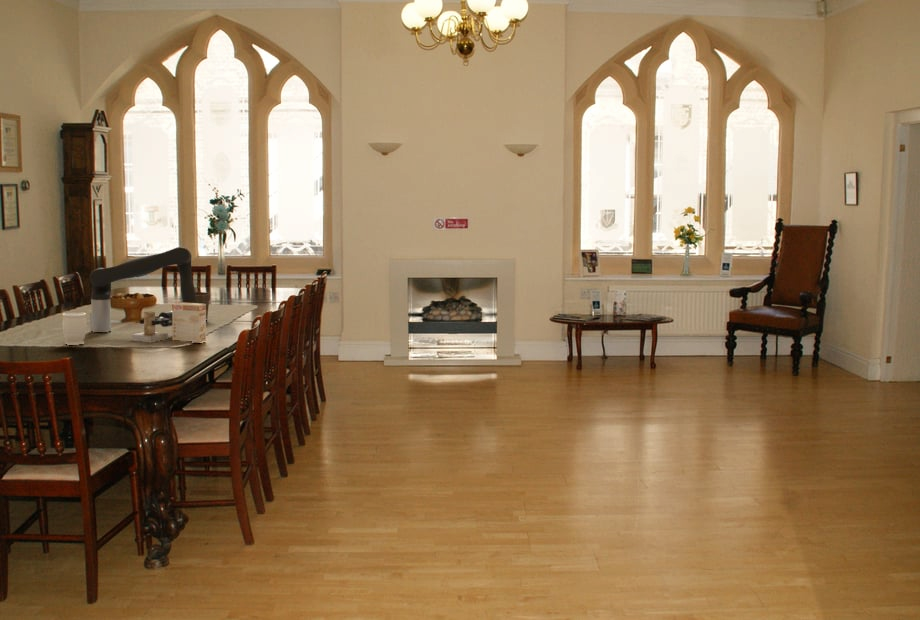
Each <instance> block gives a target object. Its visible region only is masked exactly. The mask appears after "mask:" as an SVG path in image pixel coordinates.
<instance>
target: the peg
mask: <svg viewBox="0 0 920 620" xmlns="http://www.w3.org/2000/svg"><path fill="white" fill-rule="evenodd" d="M155 316H156V312H155V311H154V310H153V311H152V310H148V311H144V312H143V318H144V324H143V326H144V328H143V330H144V331H143V332H144V334H146V335H153V334H155V332H156V325H152V321H154V320H155Z"/></svg>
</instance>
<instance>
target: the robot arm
mask: <svg viewBox="0 0 920 620" xmlns="http://www.w3.org/2000/svg"><path fill="white" fill-rule="evenodd" d="M173 265H176V266H177V270H178V273H179V284H180V285H179V286H180V293H181V299H182V300H181V301H182V302H184V303H198V301H197V299H196V294H195V292H196V290H195V284H194V279H193V274H192V272H193V271H192V253H191V251H190V250H189V249H188V248H186V247H185V246H178V247H175V248H172V249H169V250H167V251H163V252H160V253H155V254H151V255H145V256H140V257H137V258H134V259H130V260H127V261H125V262H123V263H120V264H117V265H115V266H110V267H97V268H96V269H94V270H92V271H91V272H90V274H89V277H88V278H89V281H90V283H91V294H90V303H91V305H90V306H91V311H90V312H91V313H89V325H90V326H89V327H90V328H89V329H90V330H89V331H90V332H91V331H93V332H92V333H94V332H107V333H109V332H108V331H112V328H111V327H112V323H111V320H112V319H111V317H112V315H111V309H112V308H111V292H112V283H113V282H116V281H120V280H126V279H132V278H136V277H137V278H139V277H140V276H141V277H142V276H146V275H149V274H152V273H154V272H156V271H159V270H160V269H163V268H166V267H169V266H173ZM139 324H140V325H144V317H142V318H141V319H140V320H139ZM152 325H155V326H157V325H158V326H161V327H162V328H163V327H164V328H167V327H172V310H169V311H164V312H163V311H162V312H160V313H159V315H155V320H154V321H152Z"/></svg>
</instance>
